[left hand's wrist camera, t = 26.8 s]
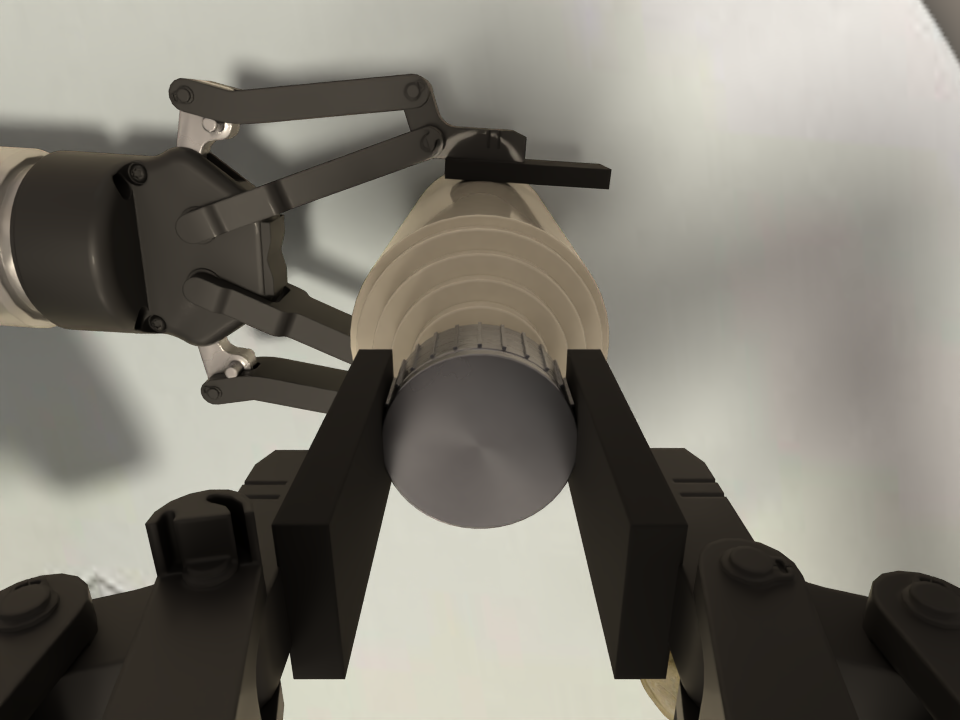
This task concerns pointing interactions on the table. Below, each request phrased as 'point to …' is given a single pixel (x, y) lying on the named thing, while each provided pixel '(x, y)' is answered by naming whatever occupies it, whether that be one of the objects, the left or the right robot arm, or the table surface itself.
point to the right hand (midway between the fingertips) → (590, 273)
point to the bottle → (479, 274)
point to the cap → (479, 427)
